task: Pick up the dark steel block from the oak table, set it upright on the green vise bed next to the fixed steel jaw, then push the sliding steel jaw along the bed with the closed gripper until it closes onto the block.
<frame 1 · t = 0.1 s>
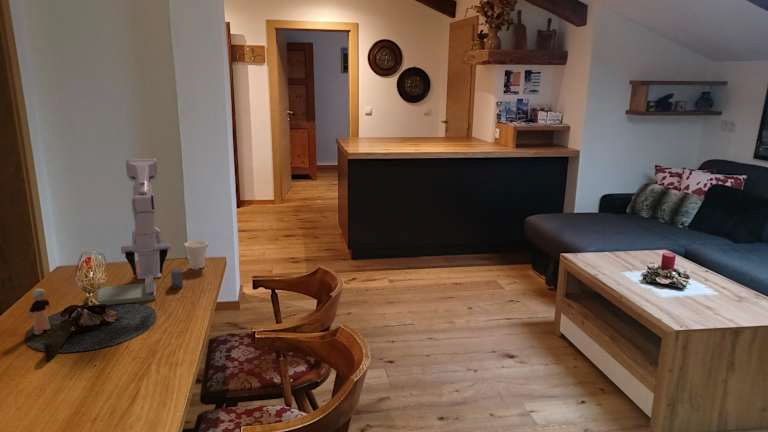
hand: (148, 273, 178), 10 cm above the table, fingers open, 7 cm apart
dark steel block: (177, 286, 194), on the table
grandmother figurine: (43, 330, 158), on the table
sliding jaw: (149, 284, 187), point 3 cm above the table, slide at 0.0 cm
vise: (123, 296, 184), on the table
cup: (197, 268, 215), on the table
hand tool: (61, 346, 150), on the table
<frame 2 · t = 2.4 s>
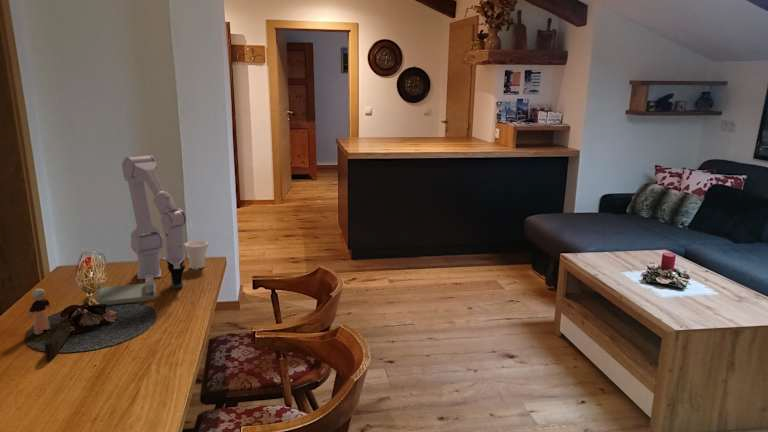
hand: (176, 282, 194), 2 cm above the table, fingers closed on dark steel block, 4 cm apart
dark steel block: (177, 286, 194), on the table, touching gripper
everything else where it was.
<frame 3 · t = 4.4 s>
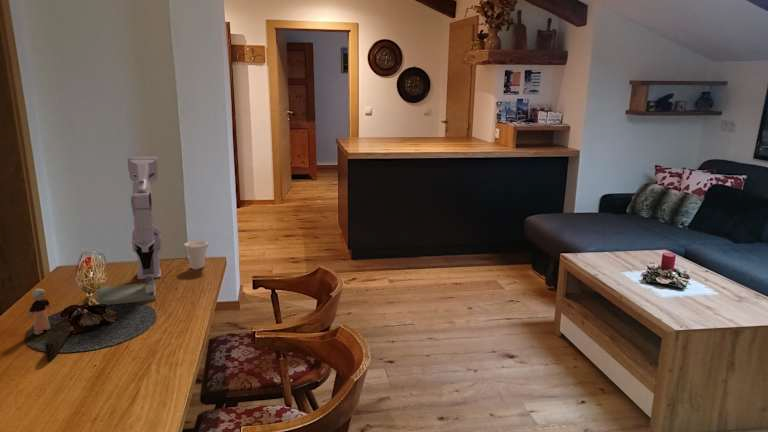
hand: (146, 266, 189), 8 cm above the table, fingers closed on dark steel block, 4 cm apart
dark steel block: (148, 272, 189), point 6 cm above the table, touching gripper
everything else where it was.
when the fingers open (4 cm above the table, at t = 6.5 s): dark steel block stays where it is, resting on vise.
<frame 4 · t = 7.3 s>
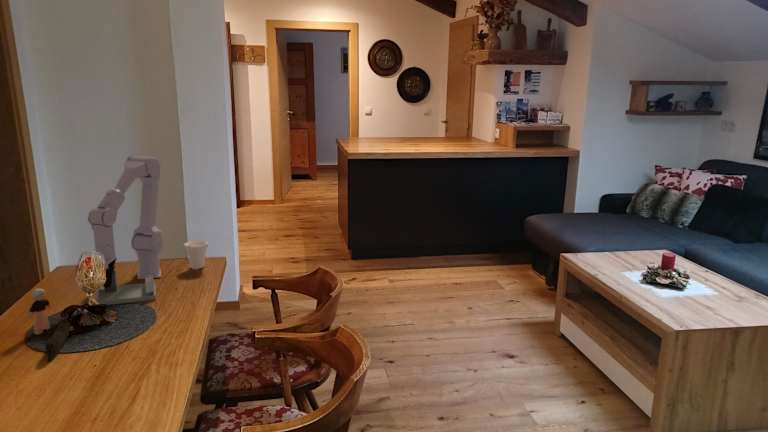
hand: (108, 282, 185), 4 cm above the table, fingers open, 7 cm apart
dark steel block: (111, 289, 185), point 1 cm above the table, touching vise
everything else where it was.
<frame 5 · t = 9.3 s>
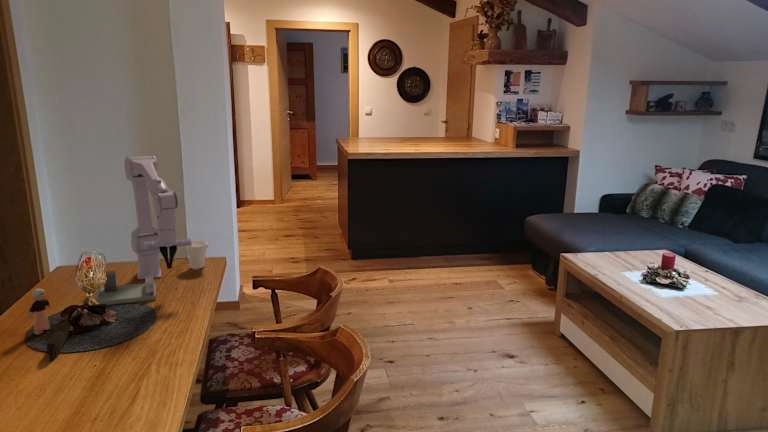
hand: (169, 267, 185), 9 cm above the table, fingers closed
nothing on the table moved.
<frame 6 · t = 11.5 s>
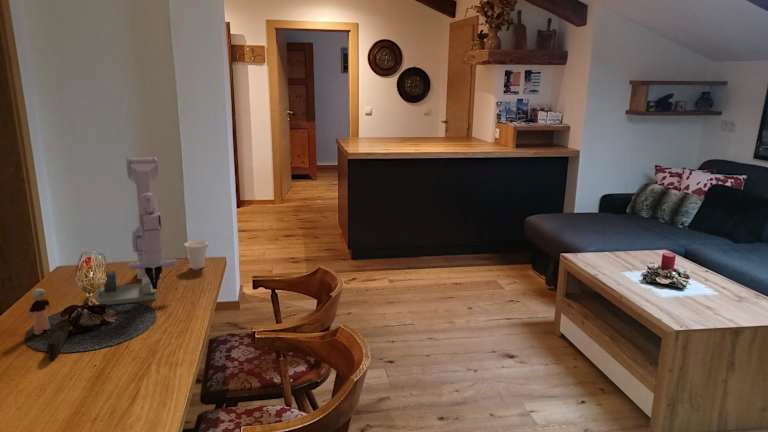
hand: (154, 288, 185), 3 cm above the table, fingers closed
sliding jaw: (146, 284, 186), point 3 cm above the table, slide at 0.9 cm, touching gripper
everything else where it was.
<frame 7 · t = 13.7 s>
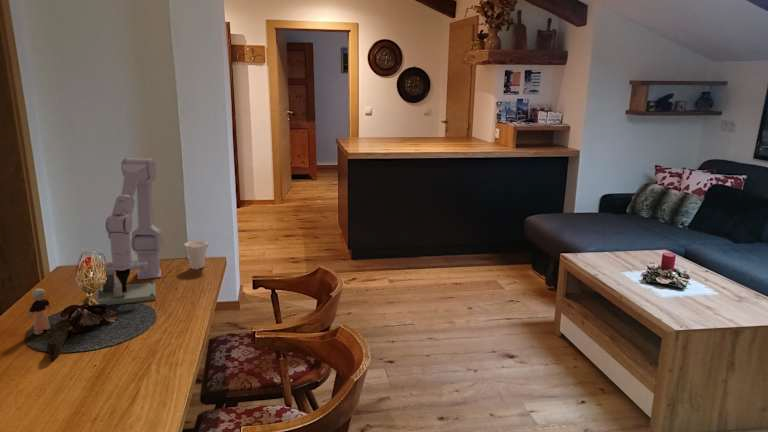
hand: (124, 291, 181), 3 cm above the table, fingers closed, pressing on sliding jaw
dark steel block: (109, 290, 185), point 1 cm above the table, touching sliding jaw, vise
sliding jaw: (118, 287, 183), point 3 cm above the table, slide at 9.4 cm, touching dark steel block, gripper
everything else where it was.
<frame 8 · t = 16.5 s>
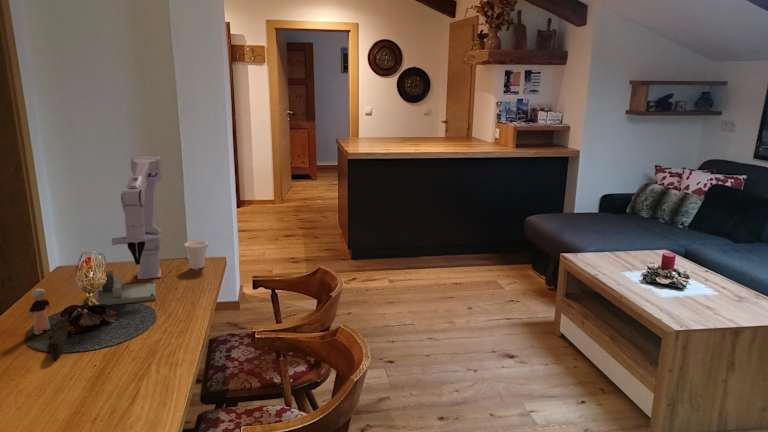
hand: (137, 263, 187), 10 cm above the table, fingers closed
sliding jaw: (117, 287, 183), point 3 cm above the table, slide at 9.7 cm, touching dark steel block
everything else where it was.
at the end: sliding jaw slide at 9.7 cm; dark steel block 0.4 cm from the target spot on the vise, point 1.5 cm above the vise's base; dark steel block tilted 0° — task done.
